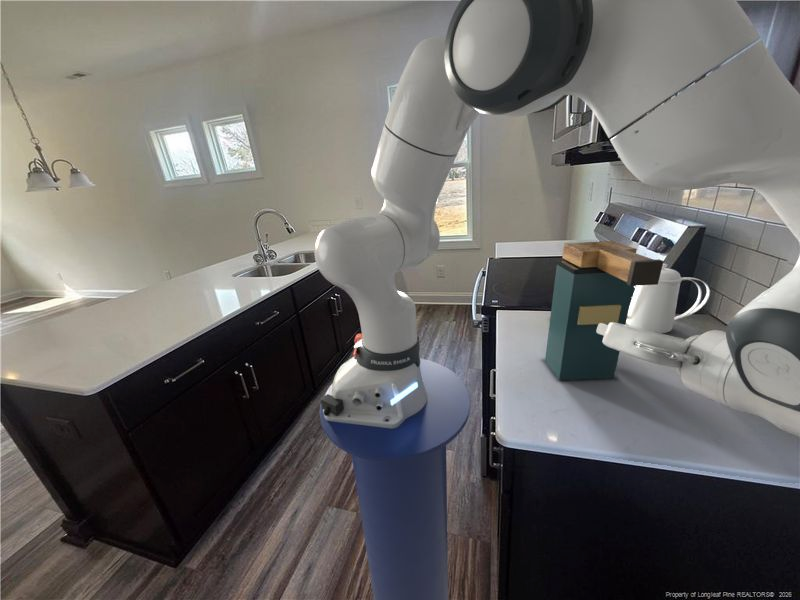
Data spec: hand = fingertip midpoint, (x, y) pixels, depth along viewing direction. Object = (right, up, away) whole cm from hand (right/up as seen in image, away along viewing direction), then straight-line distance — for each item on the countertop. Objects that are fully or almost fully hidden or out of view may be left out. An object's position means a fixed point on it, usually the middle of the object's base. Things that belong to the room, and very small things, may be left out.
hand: (620, 332), depth 54 cm
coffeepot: (+34, -2, +38) cm, 51 cm away
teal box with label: (+4, -11, +21) cm, 24 cm away
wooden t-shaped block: (+3, +11, +7) cm, 13 cm away
